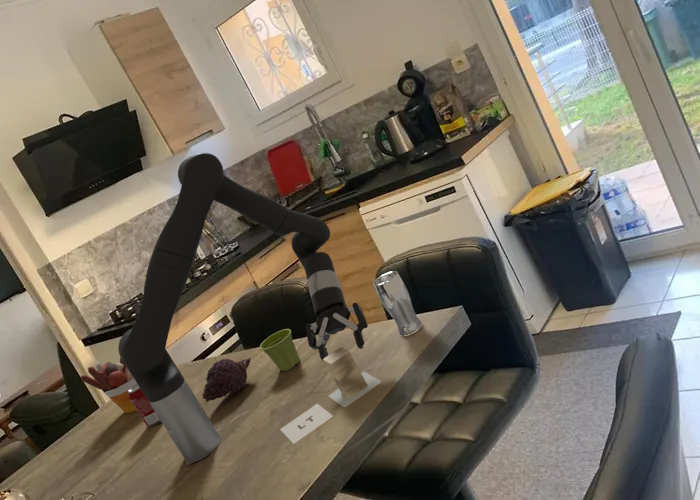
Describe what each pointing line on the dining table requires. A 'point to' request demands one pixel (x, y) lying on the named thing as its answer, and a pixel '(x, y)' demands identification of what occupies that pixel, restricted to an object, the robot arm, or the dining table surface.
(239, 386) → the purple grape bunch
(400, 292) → the beer glass
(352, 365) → the beech block
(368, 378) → the rest pad
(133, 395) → the soda can
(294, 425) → the tile
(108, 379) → the bucket of meat
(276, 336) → the plant pot
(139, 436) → the dining table surface
